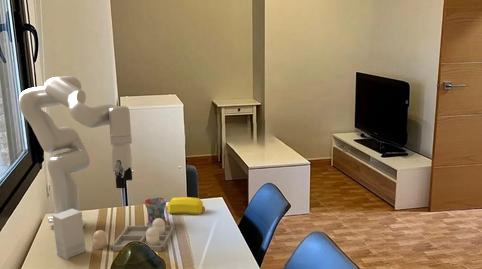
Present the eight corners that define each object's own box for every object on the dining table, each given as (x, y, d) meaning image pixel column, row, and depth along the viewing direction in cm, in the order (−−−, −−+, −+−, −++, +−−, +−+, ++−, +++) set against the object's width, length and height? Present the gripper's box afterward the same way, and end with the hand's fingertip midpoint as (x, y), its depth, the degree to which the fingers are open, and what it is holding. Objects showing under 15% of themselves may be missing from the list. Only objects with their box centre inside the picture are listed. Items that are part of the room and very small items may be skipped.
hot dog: (203, 216, 202) (207, 209, 209) (202, 201, 201) (206, 195, 208) (163, 215, 204) (168, 209, 212) (162, 200, 203) (167, 195, 211)
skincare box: (77, 247, 174) (72, 207, 171) (86, 251, 169) (82, 211, 166) (56, 255, 167) (51, 214, 164) (65, 260, 163) (61, 218, 160)
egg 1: (91, 250, 170) (90, 233, 169) (96, 244, 175) (95, 228, 174) (104, 250, 170) (103, 233, 169) (109, 245, 175) (107, 228, 173)
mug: (164, 230, 187) (162, 205, 185) (142, 229, 189) (140, 204, 187) (173, 219, 199) (171, 195, 197) (152, 218, 200) (150, 195, 198)
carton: (111, 252, 168) (110, 246, 168) (127, 230, 187) (127, 225, 187) (163, 252, 167) (163, 246, 167) (174, 230, 186) (174, 225, 186)
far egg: (145, 247, 170) (143, 230, 169) (148, 242, 175) (147, 225, 173) (157, 247, 170) (156, 230, 168) (161, 242, 174) (159, 225, 173)
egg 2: (151, 237, 179) (150, 220, 178) (154, 232, 184) (153, 216, 183) (163, 237, 179) (162, 220, 178) (166, 232, 184) (165, 216, 182)
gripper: (117, 135, 180) (121, 177, 183) (103, 144, 163) (107, 191, 166) (137, 134, 180) (140, 177, 183) (124, 144, 163) (128, 191, 166)
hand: (124, 184), depth 174 cm, fingers open, 9 cm apart
